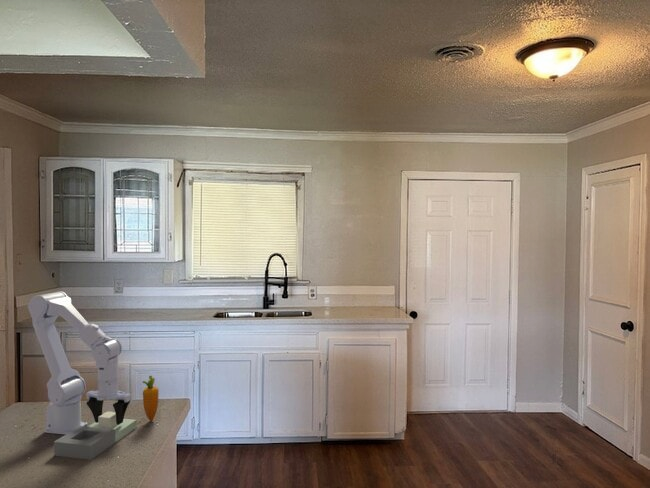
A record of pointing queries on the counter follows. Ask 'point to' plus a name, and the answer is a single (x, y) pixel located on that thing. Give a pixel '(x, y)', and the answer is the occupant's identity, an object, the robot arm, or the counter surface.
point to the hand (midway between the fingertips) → (109, 422)
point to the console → (91, 440)
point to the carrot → (150, 398)
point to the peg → (107, 420)
